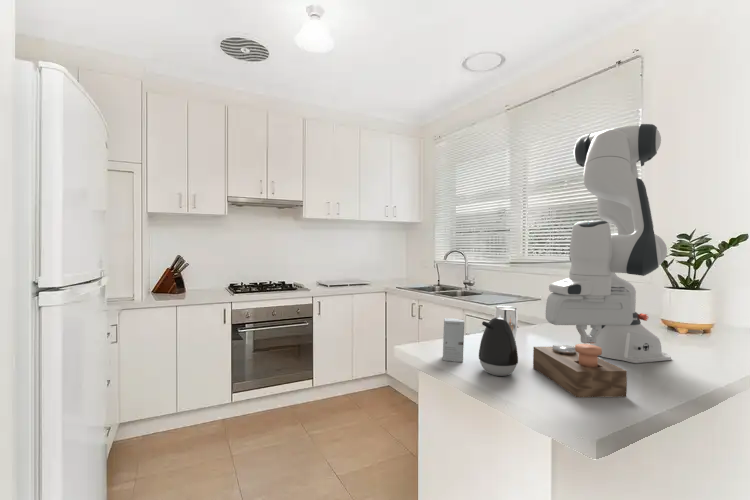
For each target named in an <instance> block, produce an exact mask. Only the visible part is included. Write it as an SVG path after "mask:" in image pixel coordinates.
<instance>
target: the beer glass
mask: <svg viewBox="0 0 750 500" xmlns="http://www.w3.org/2000/svg"><path fill="white" fill-rule="evenodd" d="M496 317H500V318H503V319H505V320H506V321H507V322H508V324H509V325H510V327H511V329H512V332H513V335H514V338H515V339H516V336H517V331H518V323H519V322H518V321H519V320H518V308H517V307H514V306H509V305H508V306H507V305H506V306H505V305H503V306H502V305H498V306H495V308H494V316H493V318H496Z"/></svg>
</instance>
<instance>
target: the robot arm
mask: <svg viewBox="0 0 750 500" xmlns="http://www.w3.org/2000/svg"><path fill="white" fill-rule="evenodd" d="M661 142H662V136H661V133H660V131H659V130H658V127H657V126H656V125H655V124H653V123H640V124H639V125H627V126H625V125H624V126H620V127H614V128H610V129H605V130H601V131H597V132H594V133H591V132H590V133H586V134H584V135H582V136H580V137H579V138H578V139H577V140H576V142H575V145H574V149H573V156H574V160H575V162H576V164H577V165H579V166H580V167H582V168H583V183H584V187H585V189H586V190H587V191H588V192H589V193H591V194H592V195H593V196H595V197H597V198H596V199H597V200H596V201H597V202H596V214H597V216H598V218H600V219H601V220H600V219H597V220H596V219H590V220H581V221H580V220H579V221H577V222H576V223H574V224H573V226H572V230H571V236H570V242H569V243H570V245H569V261H570V262H571V266H570V269H569V271H568V272H569V275H568V276H569V277H567V278H564V279H561V280H557V281H555V282H551V283H549V286H548V289H549V290H548V291H549V292H551V293H550V294H548V296H547V299H546V303H545V319H546V321H547V323H549V324H550V325H554V326H575V328H576V330H577V332H578V334H579V336H580V339H579V340H580V343H581V344H590V345H595V346H598V347H601V348H602V354H601V355H598V357H603V358H608V359H611V360H612V359H613V360H620V361H623V362H624V361H625V362H627V363H628V362H629V363H631V364H641V363H652V362H653V363H654V362H661V361H662V362H663V361H671V360H672V357H671V355H670V354H669V353H665V352H664V351H663V350H662V343H661V340H660V338H659V337H658V336H657V335H656V334H655V333H653V332H652V331H650V330H649V329H648V328H646V327H645V326H644V325H643V324H641V320H642V321H646V322H647V321H648V320H649V315H647V314H646V313H638V312H637V311H636V305H637V303H636V301H637V295H636V294H637V290H636V288H635V286H634V285H633V284H632V283H631V282H629V281H628V280H626V279H624V278H622V277H620V276H618V275H617V273H618V274H621V273H622V274H627V275H634V276H640V277H641V276H642V277H644V276H646V275H649V274H651V273H653V272H654V271H656V270H657V269H659V267H660V265H662V263H663V262H664V261H665V260H666V258H667V254H668V248H667V245H666V243H665V241H664V239H662V238H661V237H660V236H659V235H657V234H655V230H654V222H653V218H652V217H653V215H652V211H651V205H650V201H649V197H648V192H647V188H646V184H645V182H644V181H643V180H642V179H641V178H639V172H638V166H637V163H638V162H639V163H640V167H643V166H645V163H646V162H648V161H651V160H652V159H653V158H654V157H655V156H656V155H657V154H658V151H659V149H660V147H661V144H662V143H661ZM610 224H611V225H614V226H616V229H617V233H612V232H611V226H610ZM588 326H590V328H591V331H590V332H589V334H587V332H586V330H587V329H588Z"/></svg>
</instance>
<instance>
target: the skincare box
mask: <svg viewBox="0 0 750 500" xmlns="http://www.w3.org/2000/svg"><path fill="white" fill-rule="evenodd" d="M464 339H465V320H464V319H462V318H449V317H444V318H443V338H442V361H448V362H458V363H459V362H461V363H462V362H464V348H465V347H464V346H465V345H464V342H465V340H464Z"/></svg>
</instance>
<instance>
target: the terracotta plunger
mask: <svg viewBox="0 0 750 500" xmlns="http://www.w3.org/2000/svg"><path fill="white" fill-rule="evenodd" d="M574 347H575V351H576V352H579V364H580V365H582V366H583V367H598V358H599V355H601V354H602V348H601V347H598V346H595V345H590V343H586V344H584V343H577V344H575V345H574Z"/></svg>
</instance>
